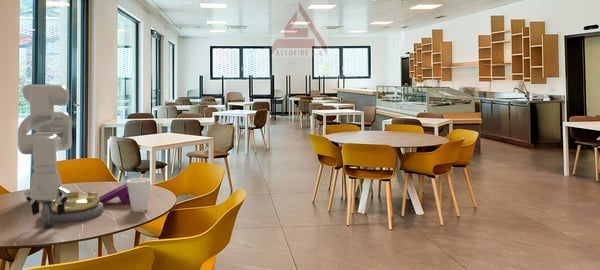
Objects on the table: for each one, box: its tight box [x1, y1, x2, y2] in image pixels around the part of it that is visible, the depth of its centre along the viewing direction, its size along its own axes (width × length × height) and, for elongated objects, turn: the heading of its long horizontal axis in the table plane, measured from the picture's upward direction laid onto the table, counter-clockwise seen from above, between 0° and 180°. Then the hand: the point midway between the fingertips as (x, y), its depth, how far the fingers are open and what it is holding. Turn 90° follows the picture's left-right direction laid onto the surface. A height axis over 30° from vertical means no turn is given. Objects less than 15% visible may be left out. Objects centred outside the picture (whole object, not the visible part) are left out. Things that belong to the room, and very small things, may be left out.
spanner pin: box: [41, 200, 54, 229], centre depth 167 cm, size 3×3×10 cm
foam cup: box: [126, 177, 151, 213], centre depth 191 cm, size 10×9×13 cm
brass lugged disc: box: [44, 190, 99, 213], centre depth 184 cm, size 20×20×4 cm
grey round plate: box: [40, 202, 104, 224], centre depth 185 cm, size 23×23×3 cm
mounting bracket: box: [98, 182, 131, 206], centre depth 204 cm, size 9×8×18 cm
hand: (48, 213), depth 168 cm, fingers open, 9 cm apart
